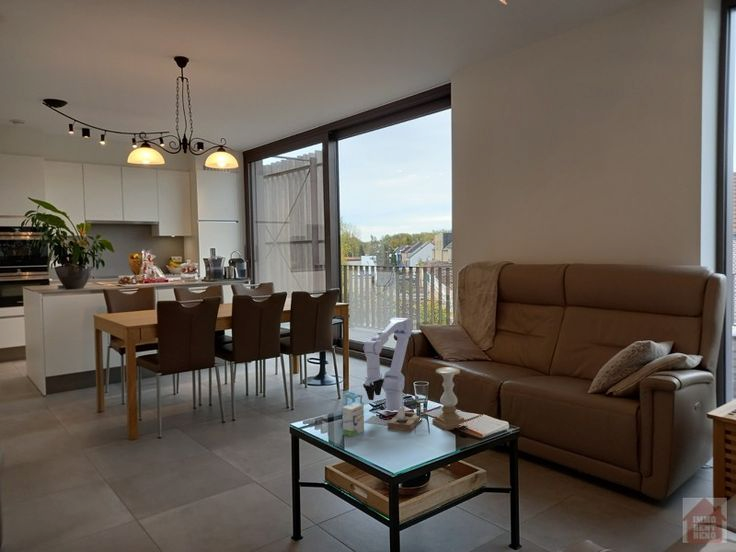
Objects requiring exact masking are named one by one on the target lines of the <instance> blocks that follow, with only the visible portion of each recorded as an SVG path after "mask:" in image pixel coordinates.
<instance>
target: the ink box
mask: <svg viewBox="0 0 736 552" xmlns="http://www.w3.org/2000/svg"><path fill="white" fill-rule="evenodd" d="M364 412H365V411H364V405H363V404H360V403H352V404H349V405H347V406H345V405H344V406H342V417H343V418H342V433H343V436H345V437H346V436H347V437H351V438H353V437H355V436H357V435H358V434H359V433H362V432H363V431H365V423H364V422H365V416H364V414H365V413H364Z"/></svg>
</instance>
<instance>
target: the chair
mask: <svg viewBox="0 0 736 552" xmlns="http://www.w3.org/2000/svg"><path fill="white" fill-rule="evenodd" d="M357 398H360V399H359V401H358V400H356V399H357ZM348 399H350V401H348ZM362 399H363V395H362V394H358V393H354V392H351V391H350V392H347V393H346V394H344V400H345V402H343V406H344V407H345V406H347V405H349V404H352V403H360V404H363V406H364V404H365V403H364V402H363V400H362ZM341 418H342V419H343V416H341Z"/></svg>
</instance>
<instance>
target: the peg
mask: <svg viewBox="0 0 736 552" xmlns="http://www.w3.org/2000/svg"><path fill="white" fill-rule="evenodd" d="M404 406H405V405H404ZM404 406H398V407H397V410H398V413H397V414H398V422H399V423H405V412H406V411H405V409H406V407H405V408H404Z"/></svg>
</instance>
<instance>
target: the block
mask: <svg viewBox="0 0 736 552" xmlns="http://www.w3.org/2000/svg"><path fill="white" fill-rule="evenodd" d="M416 413H417V412H411V411H405V423H399V422H398V413H396V414H395V416H394V417H391V418H392V419H391V420H390V421H389V422H388V423H387V424H386V425H387V430H393V431H402V432H408V433H409V432H411V431H412V430H413V429H414V428H416V426H417V425H418V424H419V423H420V422H419V420H420V417H419V416H417V415H416ZM418 422H419V423H418Z"/></svg>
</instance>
